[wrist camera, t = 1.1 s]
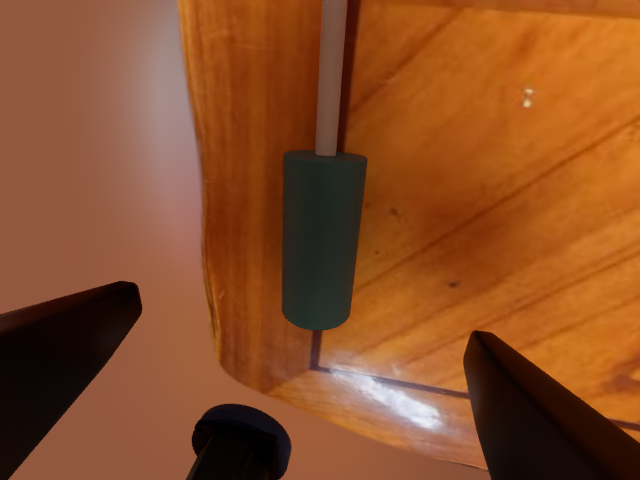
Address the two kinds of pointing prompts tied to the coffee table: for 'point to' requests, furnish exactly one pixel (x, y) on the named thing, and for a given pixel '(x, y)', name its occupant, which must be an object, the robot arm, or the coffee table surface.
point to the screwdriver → (322, 201)
